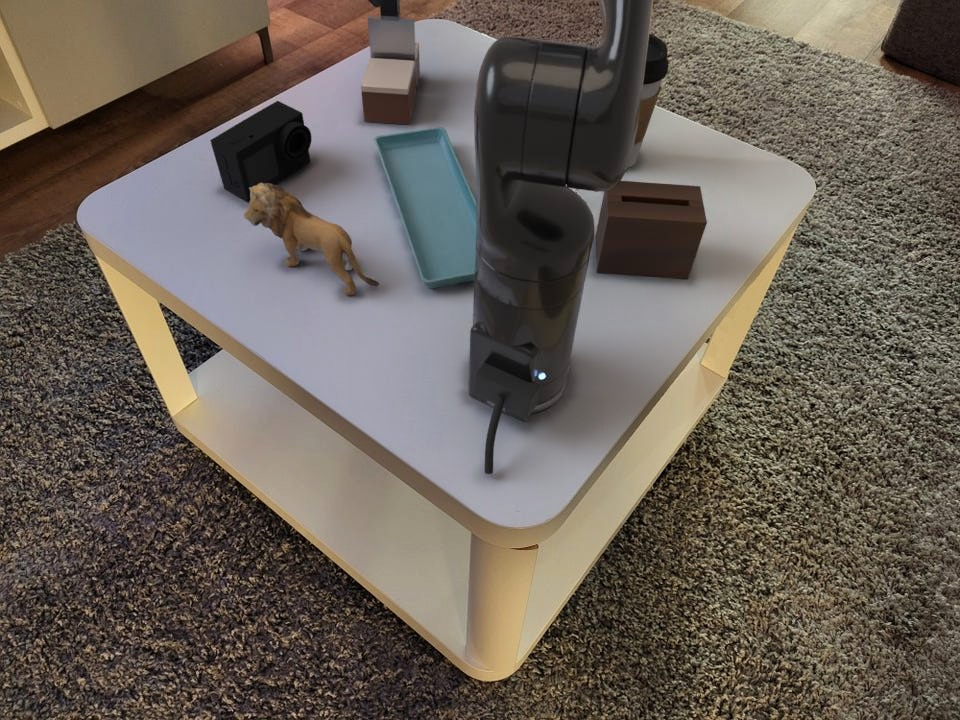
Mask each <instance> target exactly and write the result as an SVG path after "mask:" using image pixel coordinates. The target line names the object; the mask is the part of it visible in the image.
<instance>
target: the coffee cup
mask: <svg viewBox="0 0 960 720" xmlns="http://www.w3.org/2000/svg"><path fill="white" fill-rule="evenodd" d="M668 72H669V59H668V46H667V44H666V42H665V41H663V40H662V39H661V38H659V37H658V36H656V35H655V34H651V33H649V41H648V49H647V57H646V65H645V73H644V82H643V90H642V98H641V105H640V113H639V119H638V125H637V131H636V136H635V141H634V146H633V150H632V154H631V157H630V161H629V164H628V167H627V169H629V168H631V167H633V166H634V165H635V164H636V163H637V160H638V157H639V154H640V151H641V147H642V145H643V142H644V138H645V136H646V133H647V131H648V127H649V125H650V121H651V119H652V116H653V113H654V109H655V107H656V105H657V101H658V98H659V95H660V92H661V88H662V80H663V79H665V77H666V76H667V75H668Z"/></svg>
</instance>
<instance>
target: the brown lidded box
mask: <svg viewBox="0 0 960 720" xmlns="http://www.w3.org/2000/svg"><path fill="white" fill-rule="evenodd" d="M360 90H361V91H360V93H361V103H362V111H363V121H364V123H377V124H389V125H390V124H391V125H405V126H406V125H407V126H409V125H410V124H411V120H412V116H413V110H414V107H415V103H416V98H417V91H416V77H415V61H411V60H396V59H381V58H371V57H370V58H369V60H368V62H367V66H366V69H365V72H364V75H363V77H362V81H361V85H360Z"/></svg>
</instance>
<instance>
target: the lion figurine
mask: <svg viewBox="0 0 960 720" xmlns="http://www.w3.org/2000/svg"><path fill="white" fill-rule="evenodd" d="M249 189H250V198H251V200H250V202H248V203H249V208H247V209H246V211H245V212H244V213H243V217H244V218H243V219H245V220H247V221H248V222H249V223H250V224H251V225H252V226H254V227H258V225H260V224H261V225H262V227H263V228H265V229H266V228H267V229H269V230H270V231H271V232H272V233H273V235H274V237H278V238H280V239H282V242H283V245H284V247H285V250H286V251H287V253H288V254H289V256H290V257H287V258H286V260H285V264H286V266H287V267H290V268H291V267H295V266H297V265H298V264H299V263H300V256H299V255H300V254H299V253H298V251H300V252H304V251H307V250H308V249H311V250H314V251H323V254H324V257H325V260H326V261H327V263H328V265H329V266H330V268H331V270H332V271H333V272H334V273H335V274H336V275H337V276H338V278H340V279H341V280H342V281H343V282H344V283H345V284H346V285H345V286H344V287H343V292H344V294H345V295H346V296H353V295H355V293H356V292H357V286H356V283H355V281H354V279H353V277H352V276H351V275H350V274H349V272H347V271H351V270H353V269H354V271H355V272H356V274H357V275H358V277H359V278H360V279H361V280H362V281H364V282H365V283H366V284H368V285H369V286H370V287H378V286H379V285H380V282H379V281H378V280H375V279H372V278H370V277H368V276H366V275H365V274H364V273H363V271H362V270H361V268H360V266H359V263H358V261H357V258H356V256H355V253H354V251H353V248H352V244H353V241H352V238H351V236H350V235H349V233H348V232H347V231H346V230H345V229H344V228H343V226H341V225H339V224H336V223H333V222H329V221H326V220H324V219H323V218H320V217H319V216H317V215H315V214H313V213H311V212H309V211H308V210H306V208H305V207H304V206H303V203H302V202H301V201H300V199H299V198H298V197H296V196H295V195H294V194H293V193H291V192H289V191H288V190H286V189H284V188H282V187H281V186H278V184H276V185H273V184H270V183H265V184H263V183H260V184H258V185H257V186H253V187H250V188H249ZM343 258H344V259H345V261H343V260H344V259H343Z"/></svg>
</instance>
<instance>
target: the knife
mask: <svg viewBox="0 0 960 720" xmlns="http://www.w3.org/2000/svg"><path fill="white" fill-rule="evenodd" d="M379 12H380V16H367V28H368V39H369V52H370V58H381V59H396V60H411V61H415V77H416V85H417V76H416V50H415V43H416V30H415V29H416V28H415V24H416V23H415V19H413V18H402V16H401V15H402V14H401V0H385V1H384V2H383V3H382V4H381V5H380V6H379Z"/></svg>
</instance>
